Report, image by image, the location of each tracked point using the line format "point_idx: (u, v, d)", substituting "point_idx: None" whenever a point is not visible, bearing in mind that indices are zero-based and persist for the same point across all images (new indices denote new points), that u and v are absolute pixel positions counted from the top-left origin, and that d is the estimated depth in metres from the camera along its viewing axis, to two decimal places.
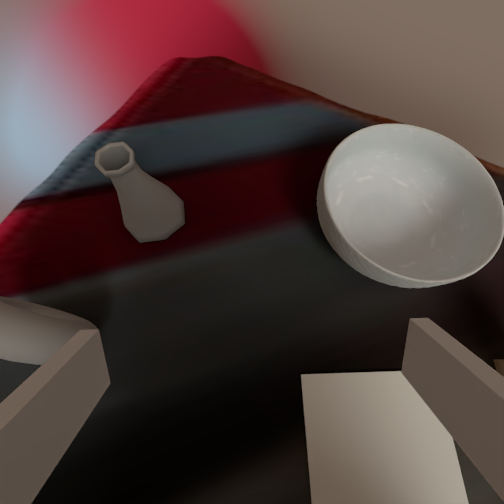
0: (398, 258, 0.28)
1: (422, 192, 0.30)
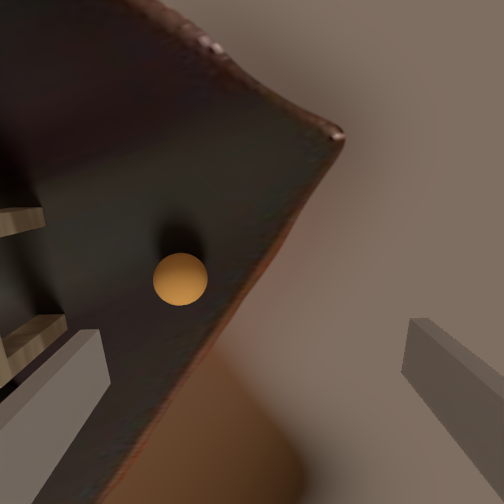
0: None
1: None
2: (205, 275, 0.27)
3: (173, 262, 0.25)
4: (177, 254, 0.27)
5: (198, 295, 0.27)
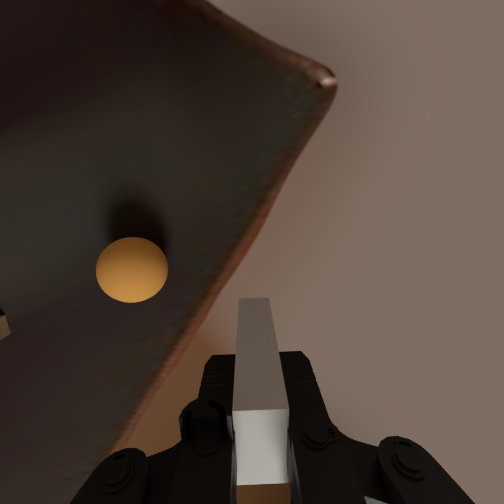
0: None
1: None
2: (162, 264, 0.21)
3: (117, 247, 0.20)
4: (126, 238, 0.21)
5: (153, 289, 0.21)
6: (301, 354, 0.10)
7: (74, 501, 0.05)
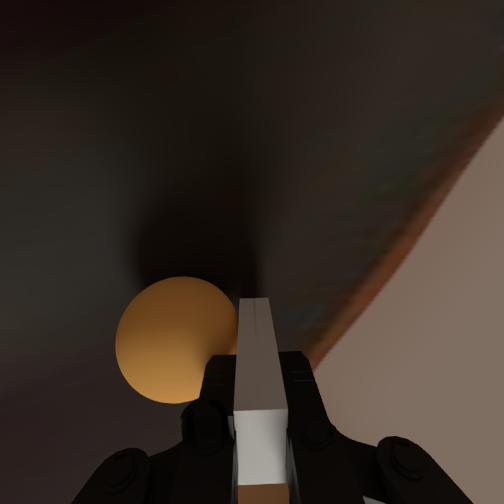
0: None
1: None
2: (234, 335, 0.11)
3: (153, 305, 0.10)
4: (170, 282, 0.11)
5: None
6: (300, 354, 0.10)
7: (75, 501, 0.05)
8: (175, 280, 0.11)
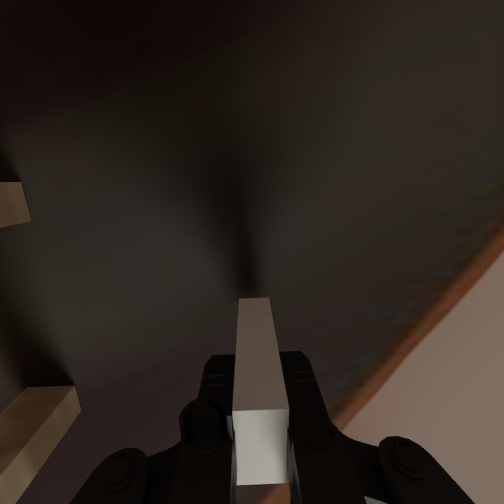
0: None
1: None
2: None
3: None
4: None
5: None
6: (301, 354, 0.10)
7: (74, 501, 0.05)
8: None
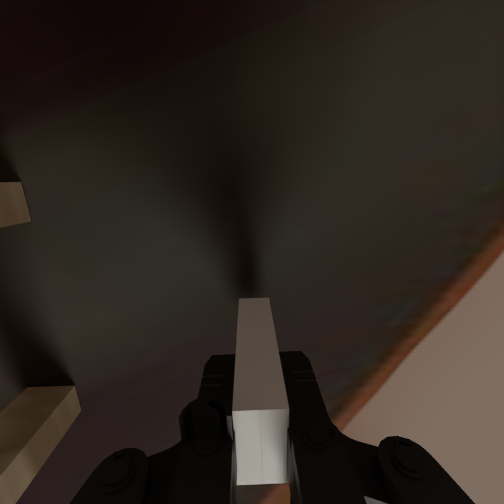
0: None
1: None
2: None
3: None
4: None
5: None
6: (301, 354, 0.10)
7: (74, 501, 0.05)
8: None
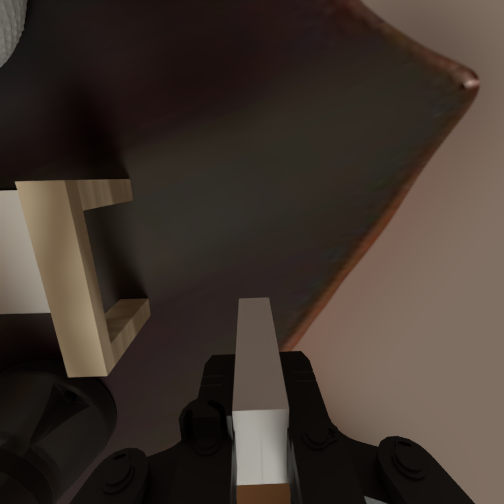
0: None
1: None
2: None
3: None
4: None
5: None
6: (301, 354, 0.10)
7: (74, 501, 0.05)
8: None
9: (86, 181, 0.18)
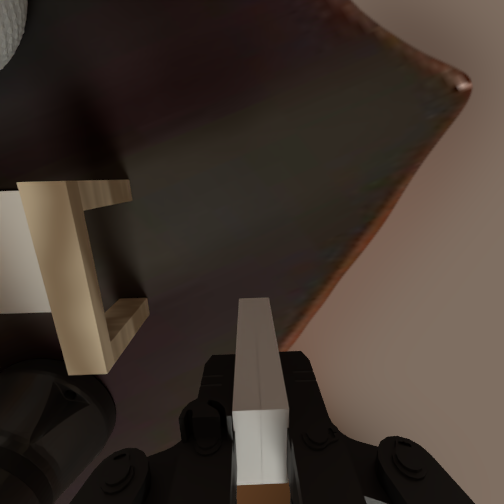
0: None
1: None
2: None
3: None
4: None
5: None
6: (301, 354, 0.10)
7: (74, 501, 0.05)
8: None
9: (86, 182, 0.18)
